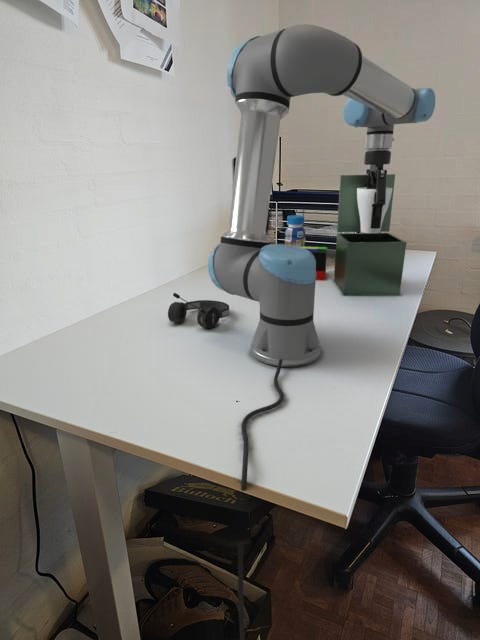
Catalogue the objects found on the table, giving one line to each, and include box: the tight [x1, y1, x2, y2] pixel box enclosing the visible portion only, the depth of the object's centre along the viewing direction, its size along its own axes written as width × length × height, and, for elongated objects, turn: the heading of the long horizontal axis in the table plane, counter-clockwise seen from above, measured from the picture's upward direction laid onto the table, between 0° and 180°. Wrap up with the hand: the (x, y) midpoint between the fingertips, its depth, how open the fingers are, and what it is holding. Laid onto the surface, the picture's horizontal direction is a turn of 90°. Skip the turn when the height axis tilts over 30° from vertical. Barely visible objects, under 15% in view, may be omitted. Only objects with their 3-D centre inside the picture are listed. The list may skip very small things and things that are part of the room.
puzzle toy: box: [301, 246, 328, 281], centre depth 148 cm, size 10×10×10 cm
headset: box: [167, 292, 230, 329], centre depth 108 cm, size 14×10×20 cm
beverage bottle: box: [284, 214, 306, 247], centre depth 163 cm, size 8×8×20 cm
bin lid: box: [336, 173, 396, 233], centre depth 138 cm, size 18×18×8 cm
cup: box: [357, 187, 392, 234], centre depth 126 cm, size 10×10×14 cm
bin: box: [333, 232, 407, 296], centre depth 132 cm, size 18×18×17 cm
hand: (370, 225), depth 128 cm, fingers closed on cup, 10 cm apart
